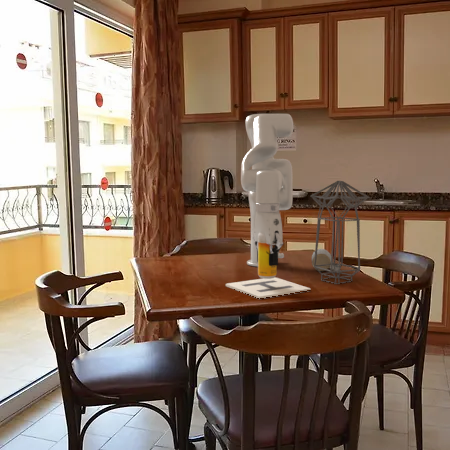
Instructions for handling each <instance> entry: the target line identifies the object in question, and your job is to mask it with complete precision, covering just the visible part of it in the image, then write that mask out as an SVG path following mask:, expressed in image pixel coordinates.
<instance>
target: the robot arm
mask: <svg viewBox="0 0 450 450" xmlns="http://www.w3.org/2000/svg"><path fill="white" fill-rule="evenodd" d="M244 122H245V130H246V135H247V137H248V139H249V142H250V146H251V148H250V149H249V151H248V152H247V153H246V154H245V155H244V157H243V159H242V161H241V165H240V167H241V168H240V183H241V188H242V190H243V191H245V192H247V193H248V203H249V211H250V259H248V260H247V261H246V264H247V265H248V266H250V267H251V266H252V267H256V268H258V234H259V232H263V233H264V235H265V238H266V243H267V244H268V245H269V249H270V253H269V266H274V265H277V266H278V265H279V259H283V258H285V254H284V253H283V252H282V253H280V250H281V249H282V247H283V245H284V242H283V240H284V239H283V238H284V237H283V235H284V234H283V223H282V217H281V216H282V215H281V213H280V211H286V210H289V209H291V208H292V206H293V200H294V199H293V197H294V196H293V191H294V190H293V187H294V186H293V180H294V179H293V176H294V175H293V164H292V162H291V161H290V160H289V159H286V158H275V157H274V156H275V155H276V154H277V152H278V148H279V146H278V138H290V137H292V135H293V133H294V119H293V117H292V115H290V114H289V113H254V114H250V115H248V116H247V117H246V119H245V121H244ZM250 168H251V169H250ZM273 241H275V243H273ZM273 246H275V247H274V248H273Z"/></svg>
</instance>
